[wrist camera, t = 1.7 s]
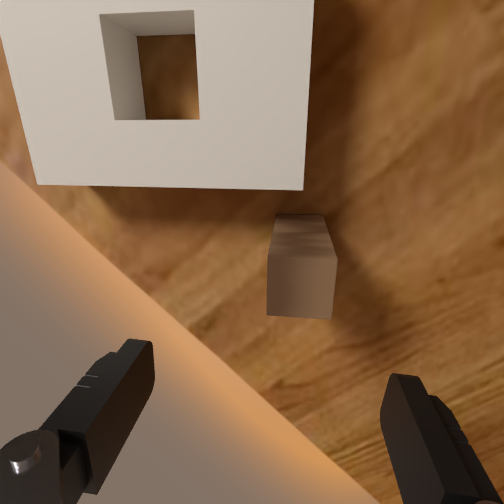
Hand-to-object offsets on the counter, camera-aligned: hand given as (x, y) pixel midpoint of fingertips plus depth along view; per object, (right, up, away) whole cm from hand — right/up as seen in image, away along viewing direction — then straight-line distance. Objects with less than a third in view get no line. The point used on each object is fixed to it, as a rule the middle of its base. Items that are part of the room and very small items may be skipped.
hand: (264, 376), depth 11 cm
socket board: (-6, +18, +14) cm, 23 cm away
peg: (+4, +6, +18) cm, 19 cm away
